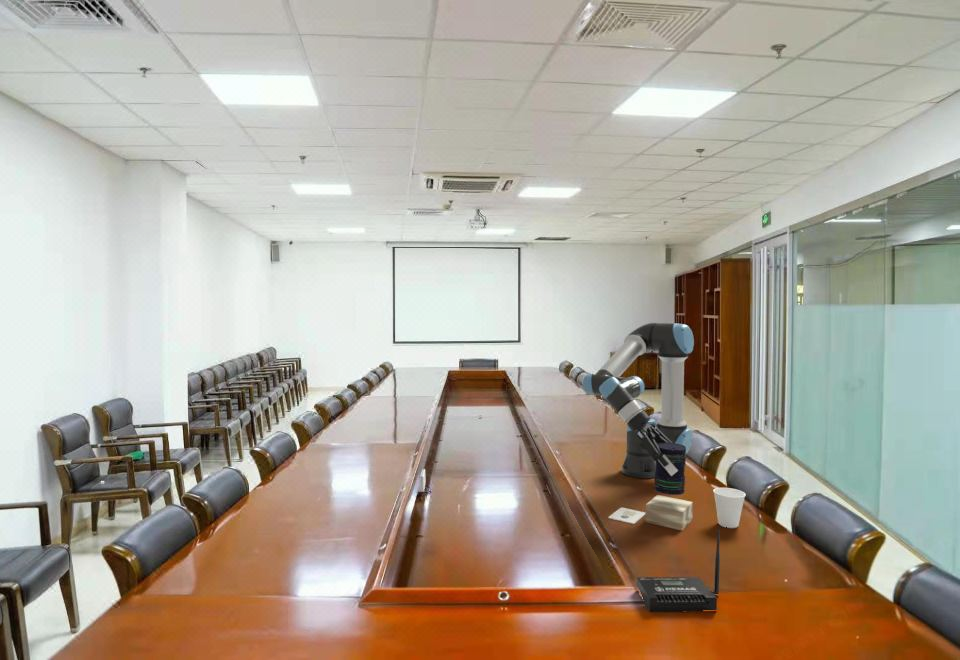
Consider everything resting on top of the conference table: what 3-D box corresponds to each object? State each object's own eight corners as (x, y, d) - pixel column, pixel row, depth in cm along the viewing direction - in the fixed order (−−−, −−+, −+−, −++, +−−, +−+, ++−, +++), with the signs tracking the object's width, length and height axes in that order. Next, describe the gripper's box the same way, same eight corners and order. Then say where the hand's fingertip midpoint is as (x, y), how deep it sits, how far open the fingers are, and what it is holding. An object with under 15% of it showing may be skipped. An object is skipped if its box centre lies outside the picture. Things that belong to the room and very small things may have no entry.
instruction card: (621, 508, 208) (621, 507, 208) (646, 513, 203) (646, 512, 203) (608, 518, 199) (608, 517, 199) (633, 524, 193) (633, 522, 193)
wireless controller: (651, 618, 137) (653, 545, 136) (634, 589, 150) (635, 523, 150) (736, 617, 137) (739, 545, 136) (711, 588, 151) (713, 523, 150)
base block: (656, 511, 205) (657, 494, 205) (692, 519, 198) (693, 501, 198) (645, 522, 195) (645, 504, 195) (682, 530, 188) (682, 512, 188)
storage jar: (650, 485, 201) (652, 442, 201) (679, 486, 201) (681, 442, 200) (658, 494, 191) (659, 449, 191) (688, 495, 191) (690, 450, 190)
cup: (748, 532, 188) (749, 498, 187) (715, 529, 190) (716, 495, 189) (740, 520, 198) (741, 488, 197) (709, 518, 200) (710, 486, 199)
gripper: (638, 418, 213) (680, 468, 205) (614, 428, 195) (660, 484, 186) (653, 405, 210) (697, 456, 202) (630, 414, 191) (677, 470, 183)
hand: (679, 469), depth 194 cm, fingers closed on storage jar, 10 cm apart
